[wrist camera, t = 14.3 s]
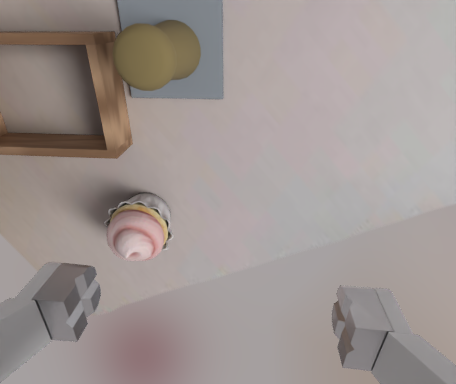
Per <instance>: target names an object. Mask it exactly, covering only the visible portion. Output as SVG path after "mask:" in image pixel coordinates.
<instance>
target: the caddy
mask: <svg viewBox="0 0 456 384" xmlns="http://www.w3.org/2000/svg"><path fill="white" fill-rule="evenodd" d="M115 40H116V38H115V32H0V44H19V45H86V49H87V54H88V59H89V64H90V69H91V74H92V78H93V83H94V88H95V93H96V98H97V103H98V107H99V112H100V117H101V122H102V127H103V132H104V135H71V134H36V133H8V131H7V129H6V126H5V123H4V120H3V118H2V115H1V112H0V155H29V156H58V157H87V158H116V159H117V158H118V157H119V156H120V155H121V154H122V153H123V152H124V151H126V150H127V149H128V148H129V147H130V146H131V145H132V144H133V143H132V136H131V130H130V124H129V118H128V112H127V106H126V99H125V93H124V87H123V81H122V78H121V76H120V75H119V74H118V72H117V70H116V67H115V65H114V61H113V54H112V53H113V46H114V42H115Z"/></svg>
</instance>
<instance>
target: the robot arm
mask: <svg viewBox="0 0 456 384" xmlns="http://www.w3.org/2000/svg"><path fill="white" fill-rule="evenodd" d="M96 275H97V273H96V270H95V267H93V266H88V265H78V264H69V263H57V262H48V263H46V264H45V265H44V266H43V267H42V268H41V269H40V270H39V271H38V272H37V274H36V275H35V276H34V277H33V278H32V279H31V281H29V283H28V284H27V285H26V286H25V287H24V288H23V289H22V290H21V292H20V293H19V294H18V295H17V296H16V297H15V298H9V299H7V300H5V301H4V302H2V303H0V383H1V382H2V381H3V380H5V379H6V378H7V377H8V376H9V375H11V374H12V373H13V372H14V371H16V370H17V369H18V368H19V367H21V366H22V365H23V364H24V363H26V362H27V361H28V360H29V359H31V358H32V357H33V356H34V355H36V354H37V353H38V352H39V351H40V350H42V349H43V348H44V347H45V346H47V345H48V344H49V343H50V342H51V340H60V341H61V340H62V341H75V342H77V341H78V340H79V338H80V336H81V335H82V333H83V331H84V329H85V327H86V326H87V324H88V323H87V318H86V317H88V316H89V315H91V314H92V313H94V312H95V310H96V308H97V306H98V304H99V300H100V296H101V289H100V285H99V283H98V282H97V281H96V280H94V278H95V277H96ZM337 297H338V301H337V302H336V303H334V305H333V310H332V325H333V330H334V334H335V335H336V336H337V337H338V338H339V339H340V340H339V343H338V351H339V355H340V359H341V363H342V367H343V368H351V369H359V370H366V371H372V372H371V373H372V374H373V375H374V377H375V378H376V379H377V380H378V382H379V383H380V384H456V365H455V364H454V363H453V362H451V361H450V360H449V359H448V358H446V357H445V356H444V355H443V354H442V353H440V352H439V351H438V350H436V349H435V348H434V347H433V346H432V345H431V344H429V343H428V342H427V341H426V340H425V339H423V338H422V337H421V336H420V335H418V334H413V332H412V330H411V329H410V326H409V325H408V322H407V320H406V319H405V316H404V315H403V313H402V311H401V309H400V307H399V305H398V303H397V301H396V299H395V297H394V295H393V293H392V291H391V290H390V289H384V288H369V287H355V286H341V285H340V287H339V288H338V290H337Z"/></svg>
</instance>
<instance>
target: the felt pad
mask: <svg viewBox="0 0 456 384" xmlns="http://www.w3.org/2000/svg"><path fill="white" fill-rule="evenodd" d="M117 3H118V9H119V16H120V23H121V29H122V31H123V30H124V29H125V28H126V27H127V26H130V25H133V24H136V23H141V24H150V25H153V26H154V25H156V24H158V23H160V22H163V21H166V20H178V21H180V22H183V23H185V24H186V25H187V26H189V27H190V28H191V29H192V30H193V31H194V33H195V34H196V36H197V38H198V41H199V44H200V47H201V57H200V61H199V64H198V66H197V68H196V69H195V71H194V72H193V73H192V74H191V75H189V76H188V77H187V78H183V79H180V80H170V82H168V83H167V84H166V85H165V86H163V87H162V88H160V89H157V90H154V91H142V90H139V89H136V88H134V87H131V86H130V89H131V95H132V98H187V99H223V2H222V0H117Z"/></svg>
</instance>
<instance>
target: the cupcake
mask: <svg viewBox="0 0 456 384" xmlns="http://www.w3.org/2000/svg"><path fill="white" fill-rule="evenodd" d="M108 214H109V219H107V220H106V221H105V222H104V224H105V226H106V227H107V228H108V229H107V242H108V245H109V247H110V248H111V250H112V251H113V252H114V254H115V255H116V256H118V257H119V258H121V259H124V260H128V261H144V260H150V259H152V258H154V257H156V256H157V255H158V254H159V253H160V251H161V250H168V243H167V242H168V241H170V240H171V239H173V237H174V236H173V234H172V231H171V228H170V216H171V214H170V210H169V207H168V205H167V204H166V202H165V201H164V200H163V199H161V198H160V197H158V196H156V195H154V194H149V193H142V194H138V195H135V196H133V197H132V198H130V199H129V200H127V201H124V202H121V203H119V205H118V206H117V207H114V208H111V209H109V210H108Z"/></svg>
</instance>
